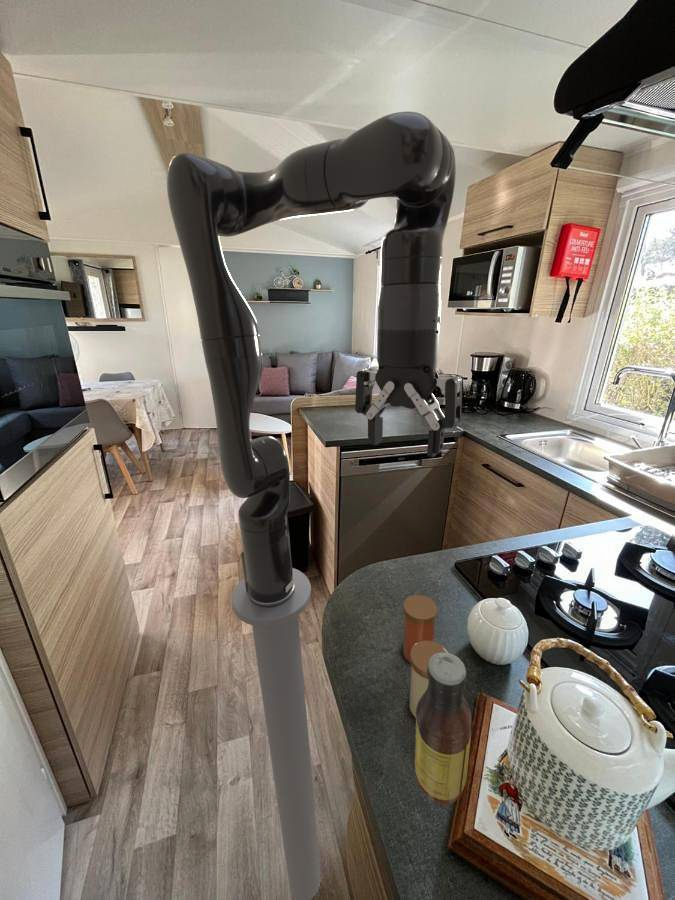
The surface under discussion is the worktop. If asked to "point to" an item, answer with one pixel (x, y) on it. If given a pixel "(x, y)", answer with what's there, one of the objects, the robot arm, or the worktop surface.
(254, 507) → the robot arm
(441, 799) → the sauce bottle
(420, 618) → the terracotta jar
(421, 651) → the cream jar
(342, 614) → the worktop surface
